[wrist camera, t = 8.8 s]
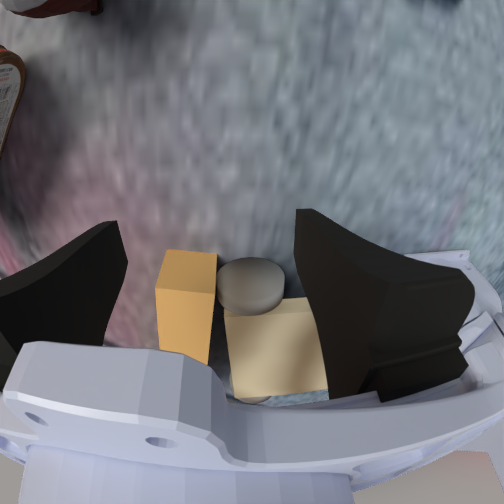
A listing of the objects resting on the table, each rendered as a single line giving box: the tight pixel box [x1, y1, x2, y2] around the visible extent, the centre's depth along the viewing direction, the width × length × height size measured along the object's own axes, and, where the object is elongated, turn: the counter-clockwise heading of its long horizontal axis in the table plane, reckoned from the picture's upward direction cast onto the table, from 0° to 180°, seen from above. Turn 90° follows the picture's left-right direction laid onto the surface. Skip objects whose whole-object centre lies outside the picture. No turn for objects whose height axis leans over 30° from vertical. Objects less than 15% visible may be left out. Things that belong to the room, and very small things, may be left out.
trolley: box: [216, 257, 328, 404], centre depth 26 cm, size 15×15×5 cm
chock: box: [155, 249, 217, 365], centre depth 25 cm, size 4×16×5 cm, turn 170°
